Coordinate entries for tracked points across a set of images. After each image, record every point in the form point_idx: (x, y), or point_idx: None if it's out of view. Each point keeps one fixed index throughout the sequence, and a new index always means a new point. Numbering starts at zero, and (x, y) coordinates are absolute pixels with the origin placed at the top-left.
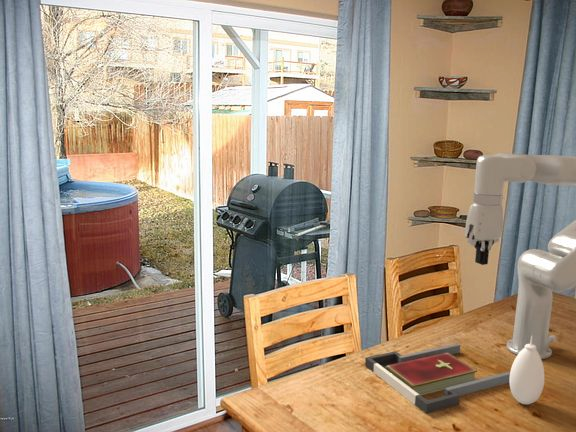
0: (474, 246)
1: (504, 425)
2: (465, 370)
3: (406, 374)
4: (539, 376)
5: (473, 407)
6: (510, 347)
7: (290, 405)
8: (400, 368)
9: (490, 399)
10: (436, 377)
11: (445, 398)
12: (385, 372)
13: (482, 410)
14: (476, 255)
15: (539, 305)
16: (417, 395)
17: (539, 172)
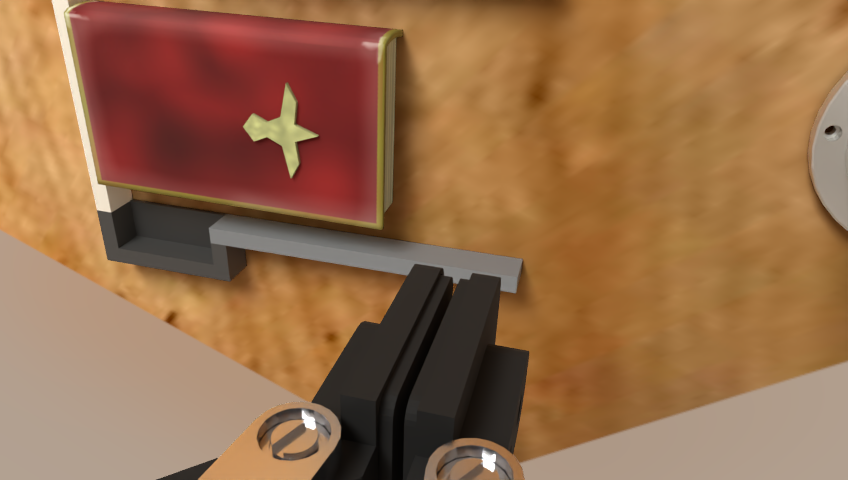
0: (190, 473)
1: (295, 387)
2: (340, 204)
3: (108, 110)
4: None
5: (276, 297)
6: (840, 97)
7: None
8: (106, 60)
9: (359, 299)
10: (202, 184)
11: (176, 269)
12: (59, 34)
13: (290, 319)
14: (338, 367)
15: None
16: (103, 212)
17: None
